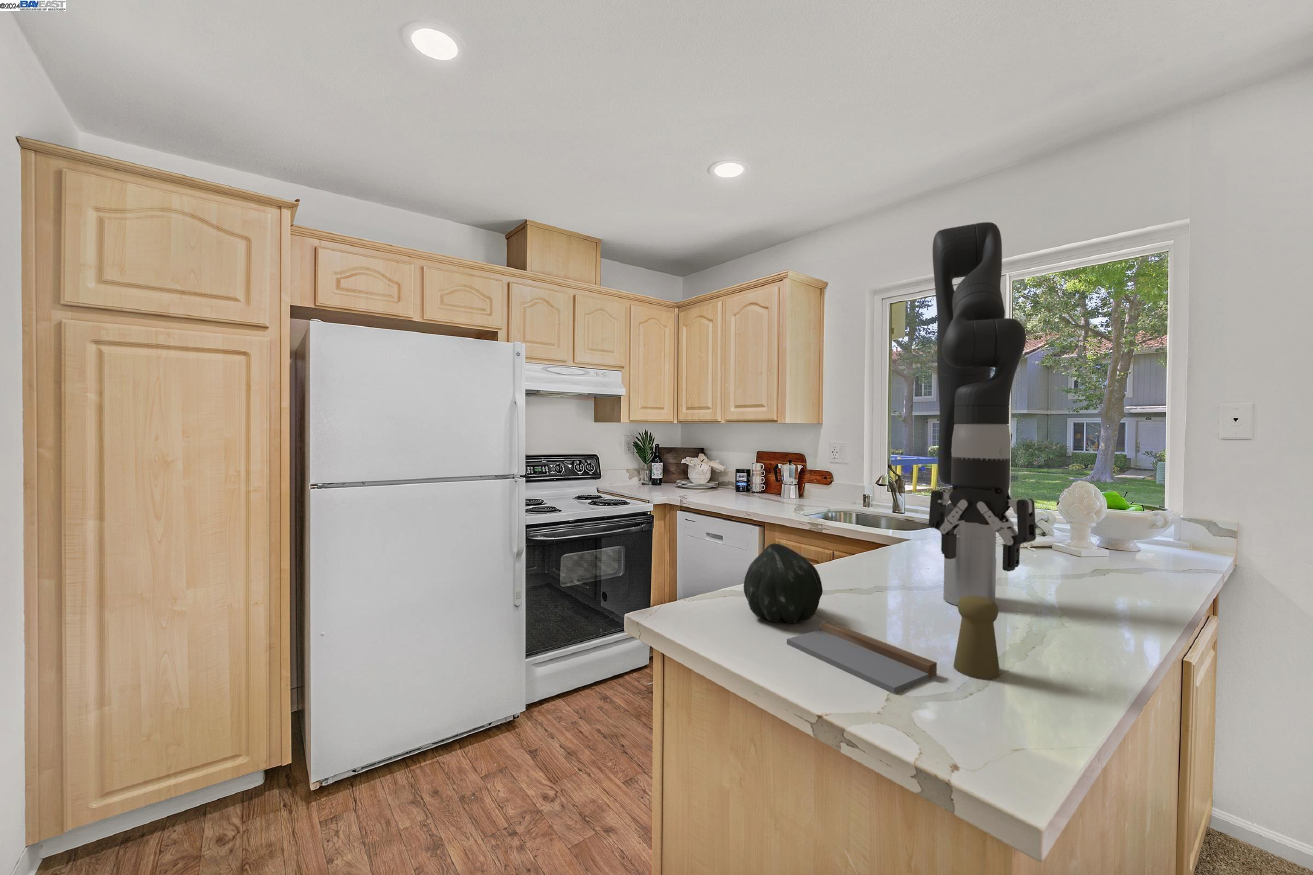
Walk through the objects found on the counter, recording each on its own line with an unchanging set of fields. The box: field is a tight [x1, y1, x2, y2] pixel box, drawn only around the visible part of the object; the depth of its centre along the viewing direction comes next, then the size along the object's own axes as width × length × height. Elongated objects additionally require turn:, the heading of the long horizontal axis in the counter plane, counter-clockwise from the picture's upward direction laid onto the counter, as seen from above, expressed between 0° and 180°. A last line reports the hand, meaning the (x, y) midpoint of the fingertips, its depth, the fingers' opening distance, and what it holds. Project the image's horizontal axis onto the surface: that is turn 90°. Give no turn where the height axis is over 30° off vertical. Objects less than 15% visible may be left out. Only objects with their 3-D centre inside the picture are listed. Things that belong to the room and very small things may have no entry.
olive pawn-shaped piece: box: [953, 595, 1001, 681], centre depth 82 cm, size 6×6×11 cm
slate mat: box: [786, 629, 929, 694], centre depth 86 cm, size 8×20×1 cm, turn 32°
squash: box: [743, 542, 824, 624], centre depth 105 cm, size 14×15×15 cm
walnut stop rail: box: [819, 620, 938, 680], centre depth 89 cm, size 2×20×2 cm, turn 32°
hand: (978, 563), depth 82 cm, fingers open, 8 cm apart
